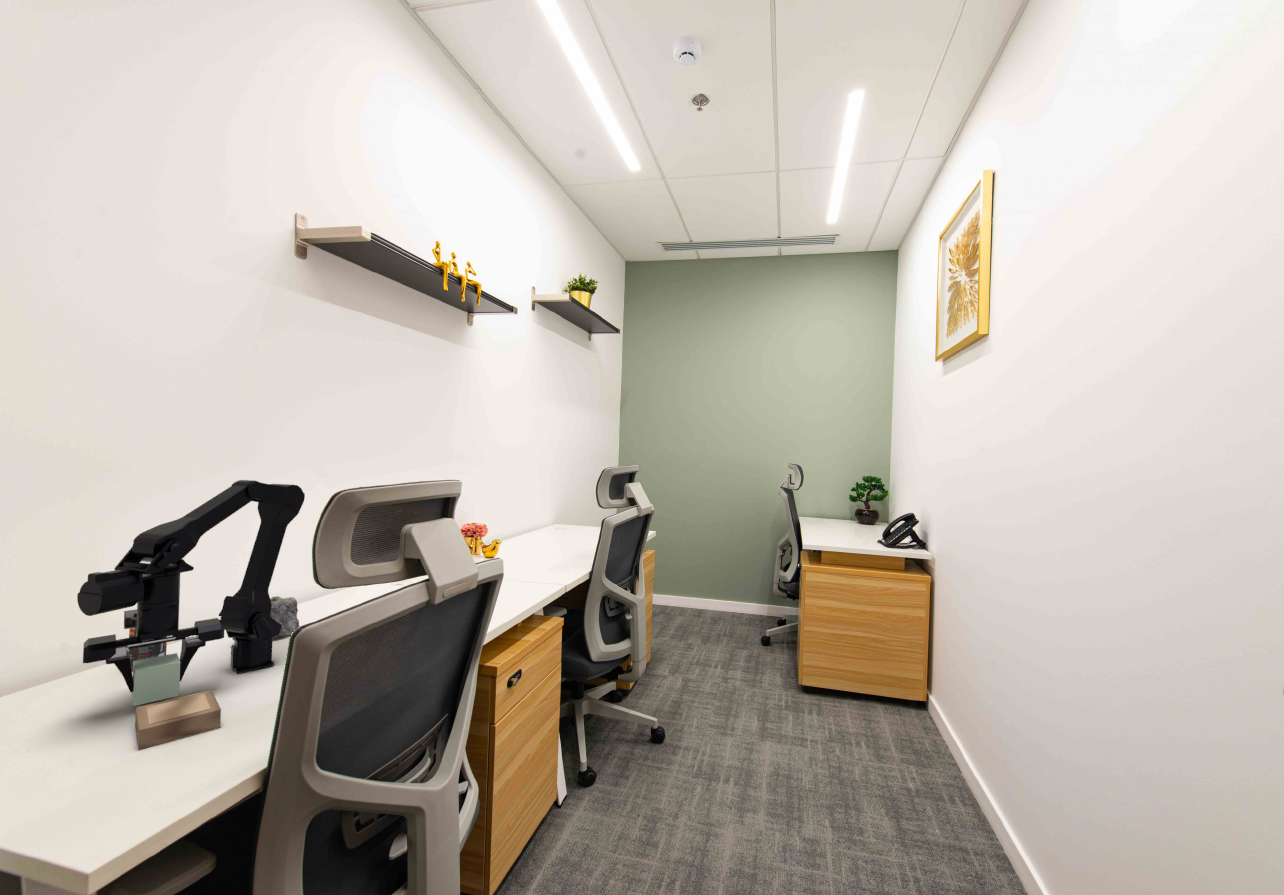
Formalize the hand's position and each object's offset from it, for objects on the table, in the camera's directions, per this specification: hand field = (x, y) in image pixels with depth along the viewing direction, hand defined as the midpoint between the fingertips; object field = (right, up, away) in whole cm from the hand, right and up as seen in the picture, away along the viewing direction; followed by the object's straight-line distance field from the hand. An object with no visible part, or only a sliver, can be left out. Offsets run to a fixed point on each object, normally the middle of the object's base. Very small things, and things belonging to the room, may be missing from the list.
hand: (155, 686), depth 97 cm
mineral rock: (-4, -4, +35) cm, 35 cm away
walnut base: (+11, -3, -8) cm, 14 cm away
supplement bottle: (-16, -3, +16) cm, 23 cm away
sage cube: (0, -2, 0) cm, 2 cm away
